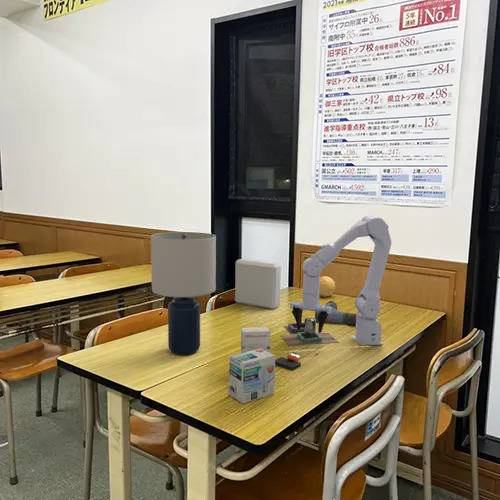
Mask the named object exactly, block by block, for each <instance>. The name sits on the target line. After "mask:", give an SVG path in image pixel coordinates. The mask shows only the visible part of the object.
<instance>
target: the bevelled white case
mask: <svg viewBox="0 0 500 500" xmlns="http://www.w3.org/2000/svg"><path fill="white" fill-rule="evenodd" d="M281 271H282V265H281V264H280V263H279V262H273V261H264V260H263V261H262V260H258V259H257V260H256V259H250V258H249V259H248V258H247V259H246V258H241V259H237V260H236V261H235V273H234V274H235V279H234V280H235V284H234V285H235V287H234V289H235V290H234V293H235V295H234V301H235V303H236V304H242V305H247V306H252V307H258V308H265V309H268V310H276V309H277V308H279V306H281V304H280V303H281V274H282V273H281Z"/></svg>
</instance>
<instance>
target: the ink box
mask: <svg viewBox="0 0 500 500" xmlns="http://www.w3.org/2000/svg"><path fill="white" fill-rule="evenodd" d="M260 348H261V349H263V350H265V351H267V352H269V353H271V330H270V328H269V327H268V326H267V327H266V326H263V327H262V326H261V327H260V326H259V327H241V328H240V353H244V352H248V351H252V350H256V349H260Z"/></svg>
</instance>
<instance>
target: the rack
mask: <svg viewBox="0 0 500 500" xmlns="http://www.w3.org/2000/svg"><path fill="white" fill-rule="evenodd" d="M280 337H281V338H282V339H283V341H285V343H286V344H287V345H288V346H290V347H291V346H305V345H306V346H307V345H320V344H323V345H324V344H337V343H338V344H339V343H340V342H339V341H338V339H336V338H335V337H333V336H332V335H331V334H330V333H329V332H321V333H318V332H315V338H304V332H298V333H297V334H293V335H291V334H283V335H280Z"/></svg>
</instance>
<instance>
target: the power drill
mask: <svg viewBox="0 0 500 500" xmlns="http://www.w3.org/2000/svg"><path fill="white" fill-rule="evenodd" d="M337 304H338V303H336V302H335V301H334V300H330V301H328V302H326V303H325V305H324V306H328V307H332V308H331V313H330V314H328V316H327V318H326V320H325V322H324V323H331V324H343V325H348V326H349V325H352V326H354V325H355V326H356V314H357V313H350V312H345V311H342V310H338V305H337ZM319 313H320V312H317V311H314V319H316V323H317V322H318V323H319V320H318V314H319Z"/></svg>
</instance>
